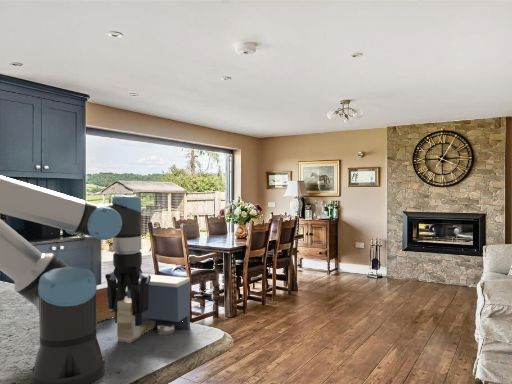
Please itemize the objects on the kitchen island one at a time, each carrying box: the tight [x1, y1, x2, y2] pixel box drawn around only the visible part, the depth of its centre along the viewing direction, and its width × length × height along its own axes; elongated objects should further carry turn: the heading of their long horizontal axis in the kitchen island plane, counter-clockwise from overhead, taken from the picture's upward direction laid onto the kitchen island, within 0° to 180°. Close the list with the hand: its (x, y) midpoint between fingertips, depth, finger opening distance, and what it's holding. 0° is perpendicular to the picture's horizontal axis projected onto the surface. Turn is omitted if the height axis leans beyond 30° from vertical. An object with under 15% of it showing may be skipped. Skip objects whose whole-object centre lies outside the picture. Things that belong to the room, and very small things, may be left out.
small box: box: [96, 282, 115, 324], centre depth 132 cm, size 8×6×10 cm
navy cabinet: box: [126, 273, 191, 330], centre depth 122 cm, size 8×17×15 cm, turn 70°
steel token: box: [156, 321, 176, 336], centre depth 120 cm, size 5×5×2 cm
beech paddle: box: [117, 297, 157, 344], centre depth 118 cm, size 13×4×11 cm, turn 160°
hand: (128, 335), depth 114 cm, fingers closed on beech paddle, 4 cm apart
